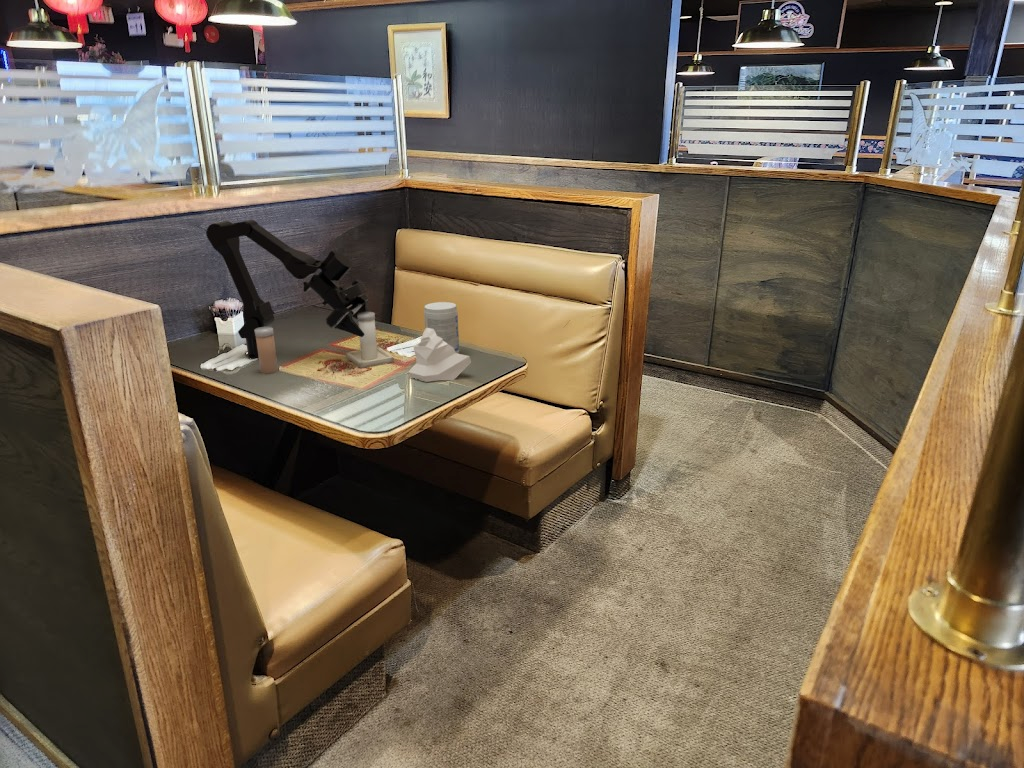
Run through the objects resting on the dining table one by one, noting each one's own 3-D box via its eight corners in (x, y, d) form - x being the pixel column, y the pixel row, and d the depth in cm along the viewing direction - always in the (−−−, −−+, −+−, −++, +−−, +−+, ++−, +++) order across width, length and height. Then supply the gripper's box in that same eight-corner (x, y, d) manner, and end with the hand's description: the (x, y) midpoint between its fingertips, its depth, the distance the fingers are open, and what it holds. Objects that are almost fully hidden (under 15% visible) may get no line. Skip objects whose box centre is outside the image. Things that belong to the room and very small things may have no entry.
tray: (346, 357, 210) (345, 352, 209) (378, 351, 215) (378, 346, 214) (360, 368, 200) (360, 363, 200) (394, 362, 205) (393, 357, 205)
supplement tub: (465, 355, 210) (463, 306, 205) (436, 361, 205) (433, 311, 200) (449, 347, 218) (447, 300, 213) (421, 353, 213) (418, 304, 208)
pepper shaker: (258, 370, 200) (252, 328, 196) (275, 367, 202) (270, 325, 198) (262, 374, 196) (256, 332, 192) (280, 371, 198) (275, 329, 194)
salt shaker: (357, 358, 207) (353, 314, 202) (369, 354, 210) (366, 310, 206) (369, 361, 204) (365, 316, 200) (381, 356, 208) (378, 313, 203)
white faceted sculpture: (439, 393, 186) (422, 344, 180) (405, 383, 196) (388, 337, 190) (473, 370, 193) (458, 322, 186) (439, 362, 203) (423, 317, 197)
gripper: (332, 279, 191) (375, 321, 193) (359, 266, 208) (398, 304, 210) (308, 307, 195) (350, 348, 197) (336, 292, 212) (374, 329, 214)
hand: (369, 331), depth 205 cm, fingers open, 9 cm apart
